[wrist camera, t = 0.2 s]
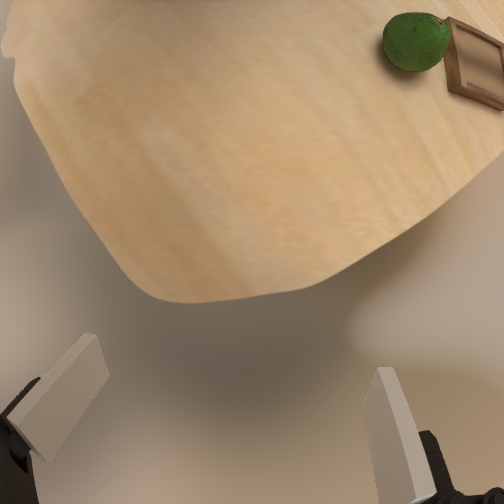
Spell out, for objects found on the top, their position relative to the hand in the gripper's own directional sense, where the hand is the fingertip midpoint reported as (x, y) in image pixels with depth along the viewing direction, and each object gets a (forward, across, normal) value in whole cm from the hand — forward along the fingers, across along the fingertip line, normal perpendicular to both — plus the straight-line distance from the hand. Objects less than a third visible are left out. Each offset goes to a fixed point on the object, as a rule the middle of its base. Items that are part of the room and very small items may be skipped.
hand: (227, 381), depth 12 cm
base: (+28, +31, +30) cm, 51 cm away
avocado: (+28, +18, +27) cm, 43 cm away
